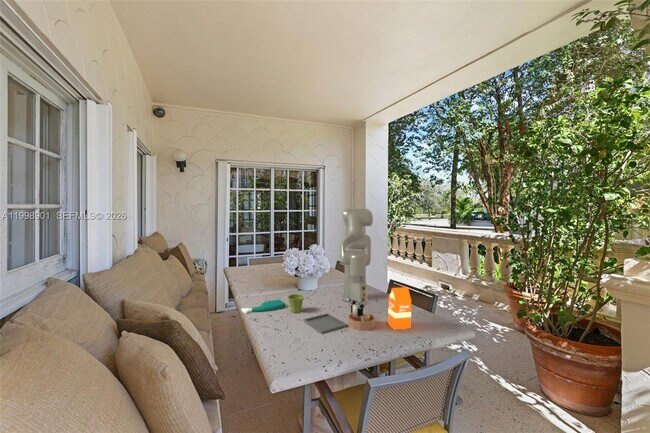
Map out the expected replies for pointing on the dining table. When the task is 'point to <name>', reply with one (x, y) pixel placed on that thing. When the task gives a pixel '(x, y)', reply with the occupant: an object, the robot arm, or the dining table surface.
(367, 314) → the pebble
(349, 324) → the bowl
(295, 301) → the plant pot
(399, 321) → the orange juice
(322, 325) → the parts tray
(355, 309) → the pebble
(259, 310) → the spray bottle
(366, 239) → the robot arm
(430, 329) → the dining table surface
